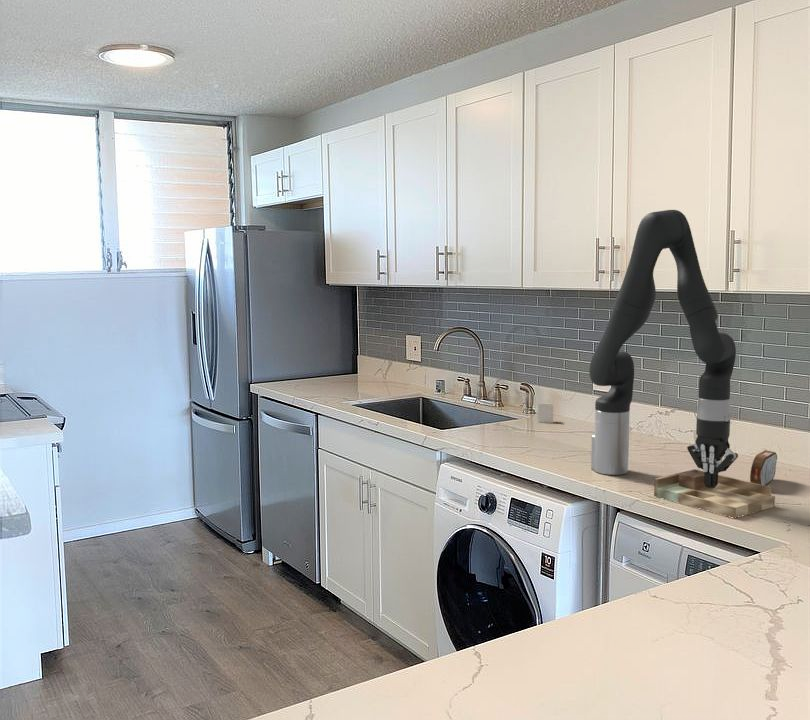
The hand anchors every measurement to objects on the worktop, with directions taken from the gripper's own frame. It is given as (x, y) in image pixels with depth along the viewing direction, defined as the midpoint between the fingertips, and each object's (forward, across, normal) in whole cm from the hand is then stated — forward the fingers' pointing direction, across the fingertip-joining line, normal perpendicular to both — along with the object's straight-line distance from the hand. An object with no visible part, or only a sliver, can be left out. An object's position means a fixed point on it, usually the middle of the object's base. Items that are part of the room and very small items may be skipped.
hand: (710, 487), depth 197 cm
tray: (+3, +1, 0) cm, 3 cm away
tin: (+4, -1, +24) cm, 25 cm away
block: (+1, -5, 0) cm, 5 cm away
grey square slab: (+4, -96, +38) cm, 103 cm away
